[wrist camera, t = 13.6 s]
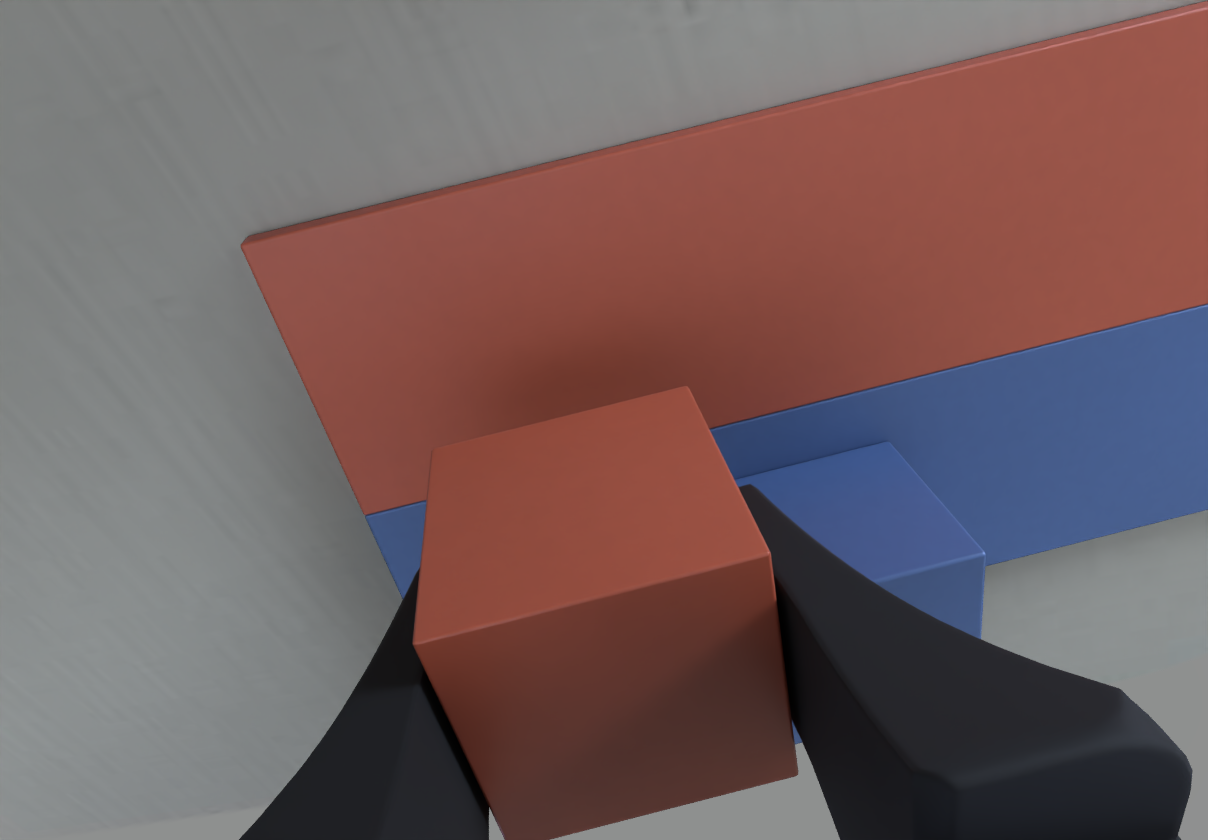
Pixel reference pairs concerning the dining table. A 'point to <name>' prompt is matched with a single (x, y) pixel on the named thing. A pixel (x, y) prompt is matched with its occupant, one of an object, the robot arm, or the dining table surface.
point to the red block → (601, 618)
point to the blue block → (884, 529)
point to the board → (812, 292)
